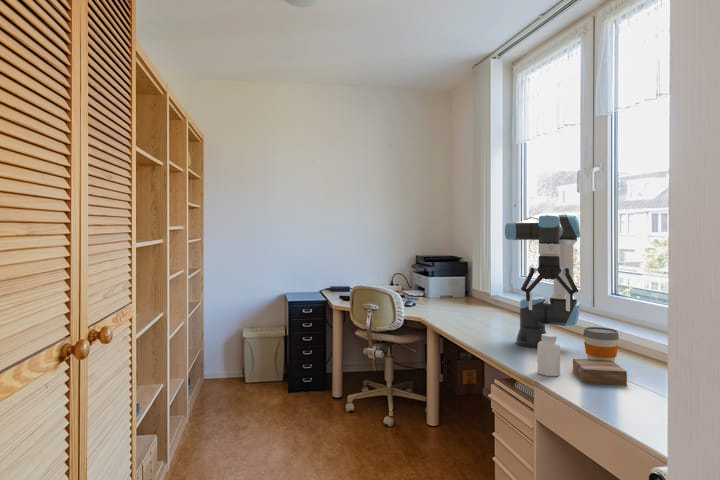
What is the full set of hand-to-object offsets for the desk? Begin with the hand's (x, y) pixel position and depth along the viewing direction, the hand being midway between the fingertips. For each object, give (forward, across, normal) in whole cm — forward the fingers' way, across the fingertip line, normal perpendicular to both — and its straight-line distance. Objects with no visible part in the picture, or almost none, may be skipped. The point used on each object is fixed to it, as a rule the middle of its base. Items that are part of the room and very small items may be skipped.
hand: (549, 310), depth 165 cm
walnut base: (+25, +17, -2) cm, 30 cm away
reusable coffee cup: (+25, +23, +14) cm, 37 cm away
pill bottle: (+25, 0, 0) cm, 25 cm away
